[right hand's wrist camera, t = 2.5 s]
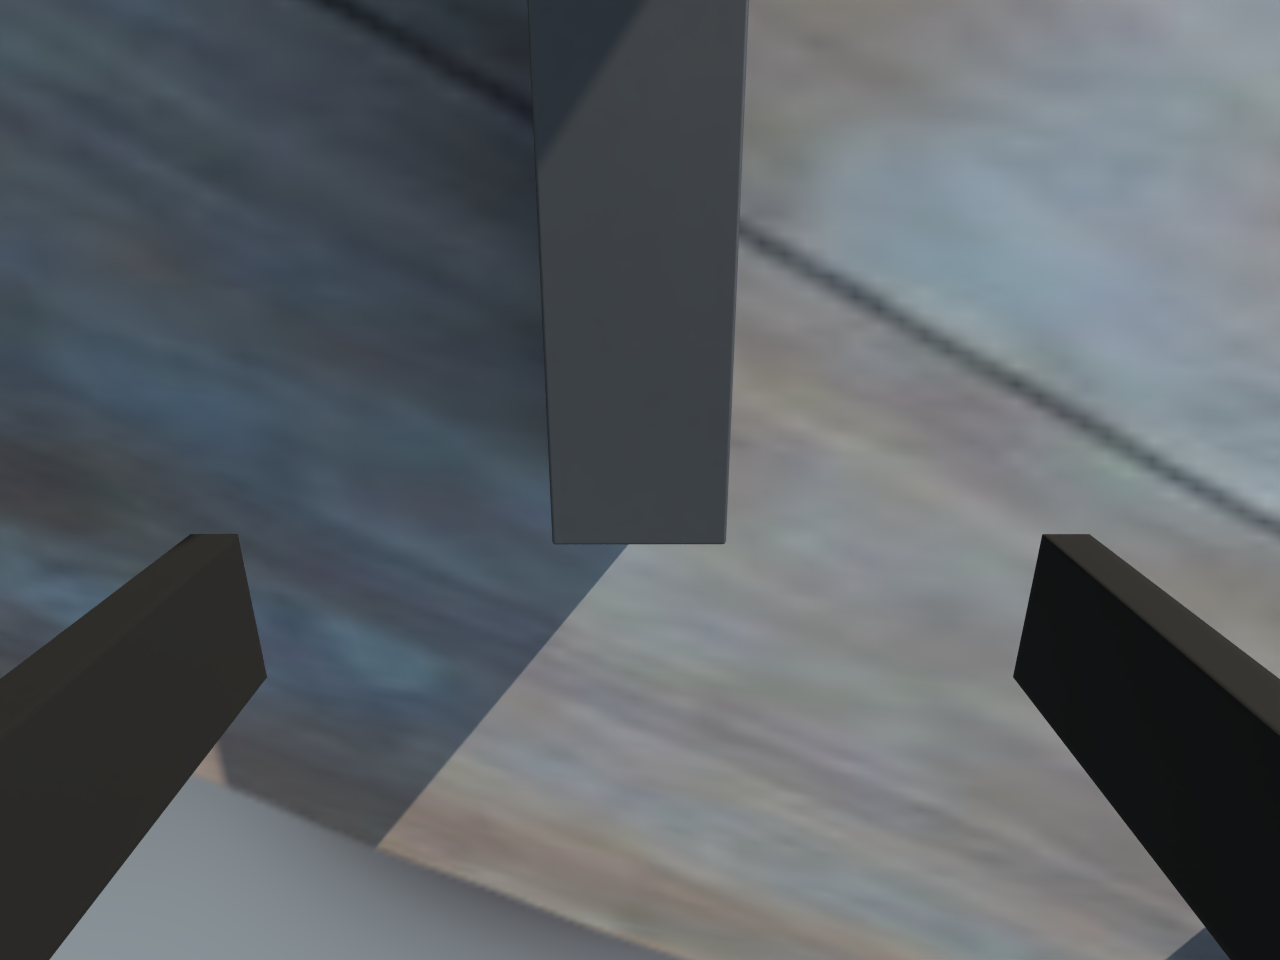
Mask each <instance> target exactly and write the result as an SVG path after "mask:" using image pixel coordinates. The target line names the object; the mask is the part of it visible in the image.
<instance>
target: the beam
mask: <svg viewBox="0 0 1280 960" xmlns="http://www.w3.org/2000/svg"><path fill="white" fill-rule="evenodd" d="M748 8H749V0H528V19H529V40H530V62H531V84H532V105H533V127H534V149H535V170H536V192H537V214H538V235H539V257H540V279H541V300H542V322H543V344H544V365H545V387H546V409H547V430H548V452H549V474H550V495H551V517H552V539H553V543H554V544H725V542H726V525H727V502H728V478H729V455H730V431H731V408H732V384H733V361H734V337H735V314H736V290H737V267H738V243H739V220H740V196H741V173H742V149H743V126H744V102H745V79H746V55H747V32H748Z"/></svg>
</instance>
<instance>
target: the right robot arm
mask: <svg viewBox="0 0 1280 960" xmlns="http://www.w3.org/2000/svg"><path fill="white" fill-rule="evenodd" d="M266 678H267V675H266V670H265V666H264V661H263V656H262V651H261V646H260V641H259V636H258V631H257V627H256V622H255V617H254V612H253V607H252V602H251V597H250V593H249V588H248V583H247V578H246V573H245V568H244V563H243V559H242V554H241V549H240V544H239V539H238V534H190V535H189V536H188V537H186V538H185V539H184V540H183V541H181V542H180V543H179V544H177V545H176V546H175V547H173V548H172V549H171V550H169V551H168V552H167V553H165V554H164V555H163V556H161V557H160V558H159V559H158V560H156V561H155V562H154V563H152V564H151V565H150V566H148V567H147V568H146V569H144V570H143V571H142V572H140V573H139V574H138V575H137V576H135V577H134V578H133V579H131V580H130V581H129V582H127V583H126V584H125V585H123V586H122V587H121V588H119V589H118V590H117V591H116V592H114V593H113V594H112V595H110V596H109V597H108V598H106V599H105V600H104V601H102V602H101V603H100V604H98V605H97V606H96V607H95V608H93V609H92V610H91V611H89V612H88V613H87V614H85V615H84V616H83V617H81V618H80V619H79V620H77V621H76V622H75V623H73V624H72V625H71V626H70V627H68V628H67V629H66V630H64V631H63V632H62V633H60V634H59V635H58V636H56V637H55V638H54V639H52V640H51V641H50V642H49V643H47V644H46V645H45V646H43V647H42V648H41V649H39V650H38V651H37V652H35V653H34V654H33V655H31V656H30V657H29V658H28V659H26V660H25V661H24V662H22V663H21V664H20V665H18V666H17V667H16V668H14V669H13V670H12V671H10V672H9V673H8V674H6V675H5V676H4V677H3V678H1V679H0V960H49V959H50V958H51V957H52V956H53V954H54V953H55V952H56V950H57V949H58V948H59V946H60V945H61V944H62V943H63V941H64V940H65V939H66V937H67V936H68V935H69V933H70V932H71V931H72V930H73V928H74V927H75V926H76V924H77V923H78V922H79V920H80V919H81V918H82V917H83V915H84V914H85V913H86V911H87V910H88V909H89V907H90V906H91V905H92V904H93V902H94V901H95V900H96V898H97V897H98V896H99V894H100V893H101V892H102V891H103V889H104V888H105V887H106V885H107V884H108V883H109V881H110V880H111V879H112V878H113V876H114V875H115V874H116V872H117V871H118V870H119V868H120V867H121V866H122V865H123V863H124V862H125V861H126V859H127V858H128V857H129V856H130V854H131V853H132V852H133V850H134V849H135V848H136V846H137V845H138V844H139V842H140V841H141V840H142V839H143V837H144V836H145V835H146V833H147V832H148V831H149V830H150V828H151V827H152V826H153V824H154V823H155V822H156V820H157V819H158V818H159V817H160V815H161V814H162V813H163V811H164V810H165V809H166V807H167V806H168V805H169V803H170V802H171V801H172V800H173V798H174V797H175V796H176V794H177V793H178V792H179V791H180V789H181V788H182V787H183V785H184V784H185V783H186V781H187V780H188V779H189V778H190V776H191V775H192V774H193V772H194V771H195V770H196V768H197V767H198V766H199V765H200V763H201V762H202V761H203V759H204V758H205V757H206V755H207V754H208V753H209V752H210V750H211V749H212V748H213V746H214V745H215V744H216V742H217V741H218V740H219V739H220V737H221V736H222V735H223V733H224V732H225V731H226V729H227V728H228V727H229V726H230V724H231V723H232V722H233V720H234V719H235V718H236V716H237V715H238V714H239V713H240V711H241V710H242V709H243V707H244V706H245V705H246V703H247V702H248V701H249V700H250V698H251V697H252V696H253V694H254V693H255V692H256V691H257V689H258V688H259V687H260V685H261V684H262V683H263V681H264V680H265V679H266ZM1013 678H1014V679H1015V680H1016V681H1017V683H1018V684H1019V685H1020V687H1021V688H1022V689H1023V691H1024V692H1025V693H1026V694H1027V696H1028V697H1029V698H1030V700H1031V701H1032V702H1033V704H1034V705H1035V706H1036V707H1037V709H1038V710H1039V711H1040V713H1041V714H1042V715H1043V716H1044V718H1045V719H1046V720H1047V722H1048V723H1049V724H1050V726H1051V727H1052V728H1053V729H1054V731H1055V732H1056V733H1057V735H1058V736H1059V737H1060V739H1061V740H1062V741H1063V742H1064V744H1065V745H1066V746H1067V748H1068V749H1069V750H1070V752H1071V753H1072V754H1073V755H1074V757H1075V758H1076V759H1077V761H1078V762H1079V763H1080V765H1081V766H1082V767H1083V768H1084V770H1085V771H1086V772H1087V774H1088V775H1089V776H1090V778H1091V779H1092V780H1093V781H1094V783H1095V784H1096V785H1097V787H1098V788H1099V789H1100V791H1101V792H1102V793H1103V794H1104V796H1105V797H1106V798H1107V800H1108V801H1109V802H1110V804H1111V805H1112V806H1113V807H1114V809H1115V810H1116V811H1117V813H1118V814H1119V815H1120V817H1121V818H1122V819H1123V820H1124V822H1125V823H1126V824H1127V826H1128V827H1129V828H1130V830H1131V831H1132V832H1133V833H1134V835H1135V836H1136V837H1137V839H1138V840H1139V841H1140V843H1141V844H1142V845H1143V846H1144V848H1145V849H1146V850H1147V852H1148V853H1149V854H1150V856H1151V857H1152V858H1153V859H1154V861H1155V862H1156V863H1157V865H1158V866H1159V867H1160V869H1161V870H1162V871H1163V872H1164V874H1165V875H1166V876H1167V878H1168V879H1169V880H1170V881H1171V883H1172V884H1173V885H1174V887H1175V888H1176V889H1177V891H1178V892H1179V893H1180V894H1181V896H1182V897H1183V898H1184V900H1185V901H1186V902H1187V904H1188V905H1189V906H1190V907H1191V909H1192V910H1193V911H1194V913H1195V914H1196V915H1197V917H1198V918H1199V919H1200V920H1201V922H1202V923H1203V924H1204V926H1205V927H1206V928H1207V930H1208V931H1209V932H1210V933H1211V935H1212V936H1213V937H1214V939H1215V940H1216V941H1217V943H1218V944H1219V945H1220V946H1221V948H1222V949H1223V950H1224V952H1225V953H1226V954H1227V956H1228V957H1229V958H1230V959H1231V960H1280V679H1279V678H1277V677H1276V676H1275V675H1274V674H1272V673H1271V672H1270V671H1268V670H1267V669H1266V668H1264V667H1263V666H1262V665H1260V664H1259V663H1258V662H1256V661H1255V660H1254V659H1252V658H1251V657H1250V656H1249V655H1247V654H1246V653H1245V652H1243V651H1242V650H1241V649H1239V648H1238V647H1237V646H1235V645H1234V644H1233V643H1231V642H1230V641H1229V640H1228V639H1226V638H1225V637H1224V636H1222V635H1221V634H1220V633H1218V632H1217V631H1216V630H1214V629H1213V628H1212V627H1210V626H1209V625H1208V624H1207V623H1205V622H1204V621H1203V620H1201V619H1200V618H1199V617H1197V616H1196V615H1195V614H1193V613H1192V612H1191V611H1189V610H1188V609H1187V608H1185V607H1184V606H1183V605H1182V604H1180V603H1179V602H1178V601H1176V600H1175V599H1174V598H1172V597H1171V596H1170V595H1168V594H1167V593H1166V592H1164V591H1163V590H1162V589H1161V588H1159V587H1158V586H1157V585H1155V584H1154V583H1153V582H1151V581H1150V580H1149V579H1147V578H1146V577H1145V576H1143V575H1142V574H1141V573H1140V572H1138V571H1137V570H1136V569H1134V568H1133V567H1132V566H1130V565H1129V564H1128V563H1126V562H1125V561H1124V560H1122V559H1121V558H1120V557H1119V556H1117V555H1116V554H1115V553H1113V552H1112V551H1111V550H1109V549H1108V548H1107V547H1105V546H1104V545H1103V544H1101V543H1100V542H1099V541H1097V540H1096V539H1095V538H1094V537H1092V536H1091V535H1090V534H1042V539H1041V544H1040V549H1039V554H1038V559H1037V563H1036V568H1035V573H1034V578H1033V583H1032V588H1031V593H1030V597H1029V602H1028V607H1027V612H1026V617H1025V622H1024V627H1023V631H1022V636H1021V641H1020V646H1019V651H1018V656H1017V661H1016V666H1015V670H1014V675H1013Z"/></svg>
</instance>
